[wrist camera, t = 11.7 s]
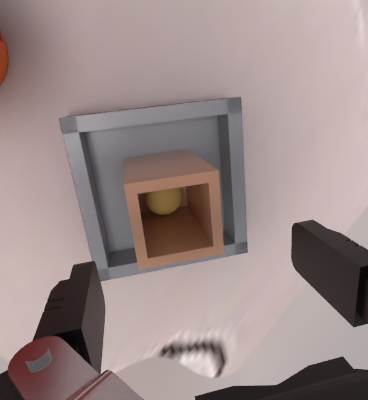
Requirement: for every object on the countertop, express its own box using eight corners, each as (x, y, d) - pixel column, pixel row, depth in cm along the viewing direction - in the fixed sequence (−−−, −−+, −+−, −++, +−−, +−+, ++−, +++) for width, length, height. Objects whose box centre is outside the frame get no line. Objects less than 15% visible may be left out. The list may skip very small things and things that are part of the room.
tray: (68, 116, 22) (58, 118, 19) (224, 98, 24) (240, 97, 20) (100, 259, 26) (97, 282, 22) (232, 234, 27) (247, 252, 24)
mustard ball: (141, 172, 22) (142, 191, 20) (178, 168, 22) (184, 186, 20) (145, 204, 24) (147, 224, 21) (180, 200, 24) (185, 219, 22)
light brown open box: (123, 157, 22) (123, 184, 15) (188, 149, 23) (218, 170, 16) (134, 218, 24) (138, 270, 17) (194, 208, 25) (224, 253, 17)
